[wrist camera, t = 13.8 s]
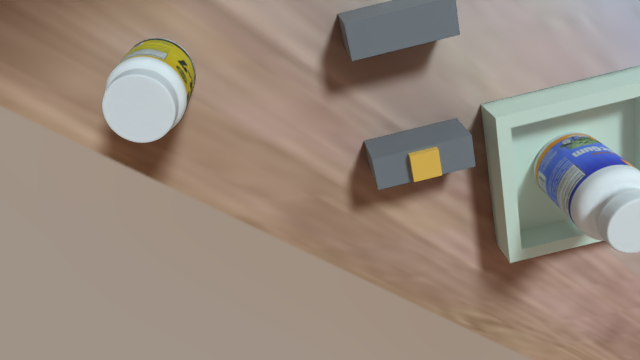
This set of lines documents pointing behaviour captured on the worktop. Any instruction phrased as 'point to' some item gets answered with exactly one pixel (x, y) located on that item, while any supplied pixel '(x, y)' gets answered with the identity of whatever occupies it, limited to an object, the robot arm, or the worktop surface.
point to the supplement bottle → (149, 90)
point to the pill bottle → (592, 188)
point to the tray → (530, 138)
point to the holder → (424, 142)
